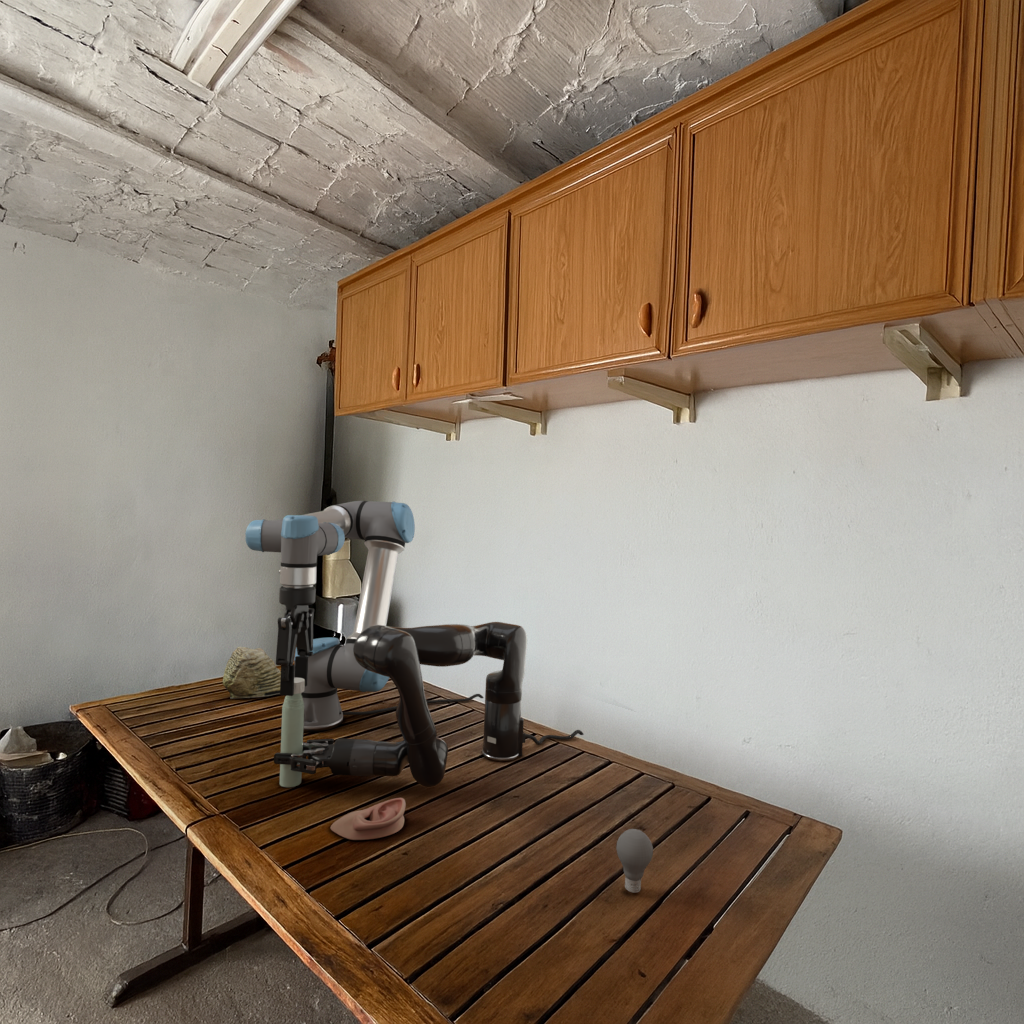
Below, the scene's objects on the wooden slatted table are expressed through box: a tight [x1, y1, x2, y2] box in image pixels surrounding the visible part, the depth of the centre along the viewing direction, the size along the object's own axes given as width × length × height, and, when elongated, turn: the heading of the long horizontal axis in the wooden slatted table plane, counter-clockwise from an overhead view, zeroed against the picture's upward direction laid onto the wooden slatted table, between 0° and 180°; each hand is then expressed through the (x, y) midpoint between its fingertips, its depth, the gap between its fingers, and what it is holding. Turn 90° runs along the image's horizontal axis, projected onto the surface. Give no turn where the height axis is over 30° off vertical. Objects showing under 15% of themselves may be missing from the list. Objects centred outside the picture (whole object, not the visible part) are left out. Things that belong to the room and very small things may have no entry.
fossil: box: [222, 646, 281, 699], centre depth 198 cm, size 9×18×15 cm, turn 132°
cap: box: [294, 678, 305, 694], centre depth 139 cm, size 4×4×2 cm
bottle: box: [279, 693, 304, 788], centre depth 139 cm, size 5×5×22 cm
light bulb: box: [615, 828, 654, 894], centre depth 106 cm, size 6×6×10 cm
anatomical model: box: [330, 797, 407, 841], centre depth 123 cm, size 13×4×12 cm
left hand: (293, 689), depth 139 cm, fingers open, 6 cm apart
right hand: (279, 753), depth 140 cm, fingers closed on bottle, 4 cm apart
